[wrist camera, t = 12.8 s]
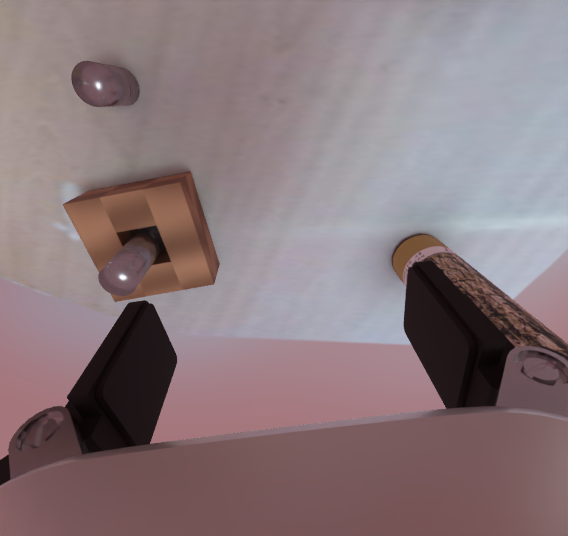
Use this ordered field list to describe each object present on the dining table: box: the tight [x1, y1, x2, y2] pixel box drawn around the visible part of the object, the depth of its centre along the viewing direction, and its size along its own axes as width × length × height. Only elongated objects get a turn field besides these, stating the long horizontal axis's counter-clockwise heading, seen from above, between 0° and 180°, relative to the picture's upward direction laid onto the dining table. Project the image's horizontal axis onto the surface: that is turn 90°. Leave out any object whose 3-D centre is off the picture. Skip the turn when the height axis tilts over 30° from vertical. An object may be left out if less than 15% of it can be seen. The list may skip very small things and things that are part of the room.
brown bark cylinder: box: [393, 235, 568, 361], centre depth 30 cm, size 7×7×25 cm
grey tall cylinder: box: [99, 225, 165, 296], centre depth 32 cm, size 3×3×12 cm
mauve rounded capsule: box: [72, 61, 139, 107], centre depth 28 cm, size 3×3×6 cm
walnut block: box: [63, 172, 219, 302], centre depth 35 cm, size 12×12×5 cm
